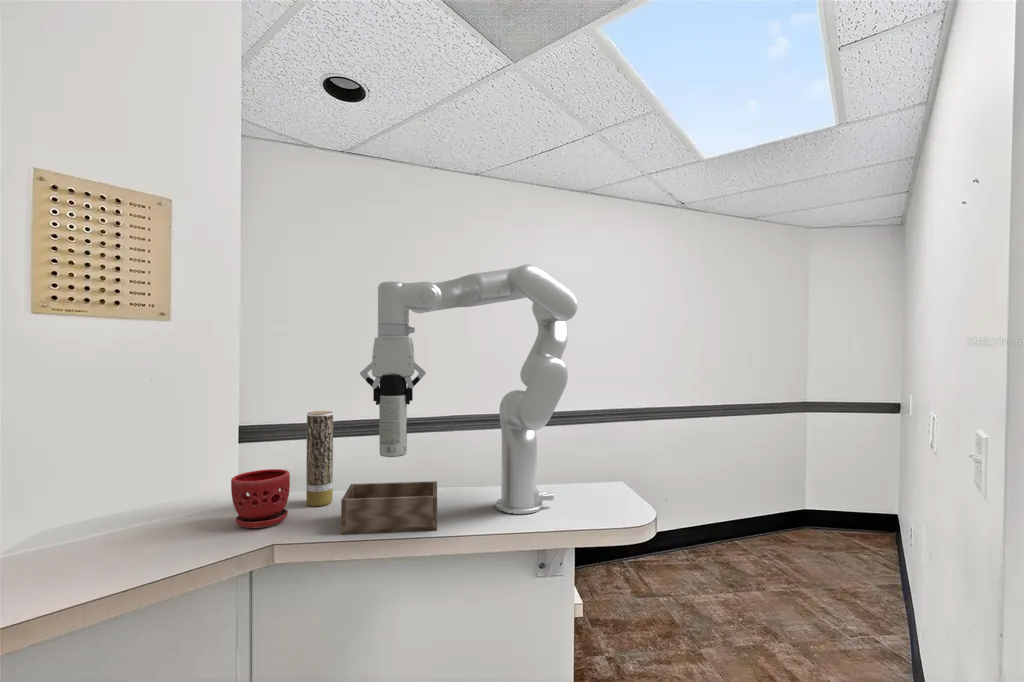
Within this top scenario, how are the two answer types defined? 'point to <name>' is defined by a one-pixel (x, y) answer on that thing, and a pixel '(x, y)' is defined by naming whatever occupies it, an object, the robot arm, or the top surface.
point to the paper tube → (319, 458)
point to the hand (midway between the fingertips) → (393, 403)
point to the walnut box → (389, 508)
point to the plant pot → (260, 497)
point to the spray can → (392, 416)
